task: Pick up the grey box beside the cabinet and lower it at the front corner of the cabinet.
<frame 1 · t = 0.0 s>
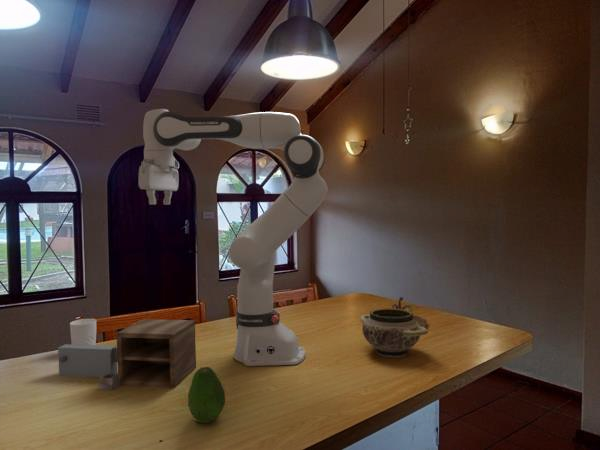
hand: (160, 204, 139), 48 cm above the table, tool pointing down, fingers open, 8 cm apart
avocado: (207, 422, 94), on the table
cabinet: (159, 375, 121), on the table
white cup: (84, 352, 143), on the table
plant: (400, 327, 167), on the table
ceramic bowl: (391, 353, 136), on the table
grey box: (88, 374, 123), on the table
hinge: (144, 348, 146), on the table
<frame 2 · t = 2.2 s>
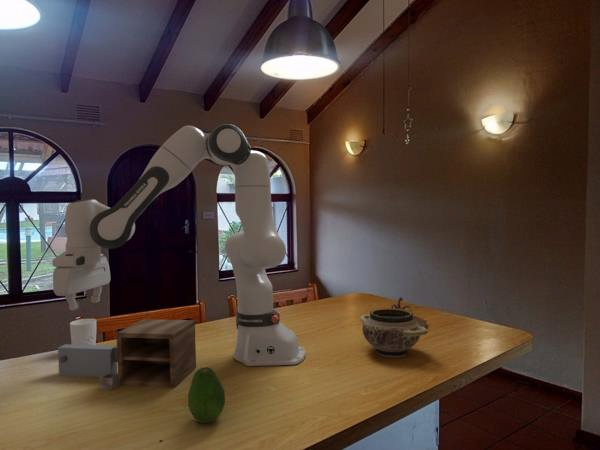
hand: (85, 305, 122), 20 cm above the table, tool pointing down, fingers open, 8 cm apart
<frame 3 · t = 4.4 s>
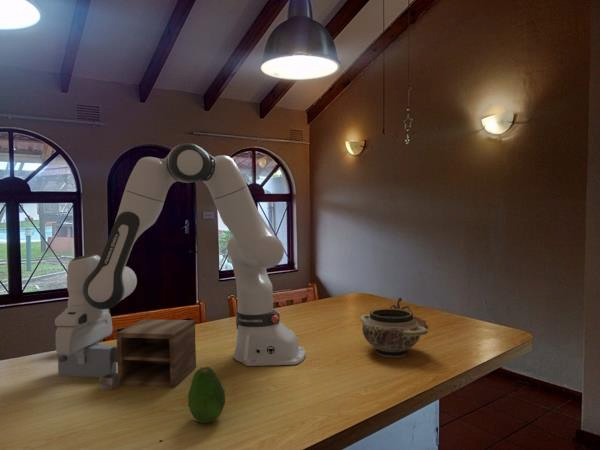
hand: (87, 360, 123), 4 cm above the table, tool pointing down, fingers closed on grey box, 3 cm apart
grey box: (87, 374, 123), on the table, touching gripper
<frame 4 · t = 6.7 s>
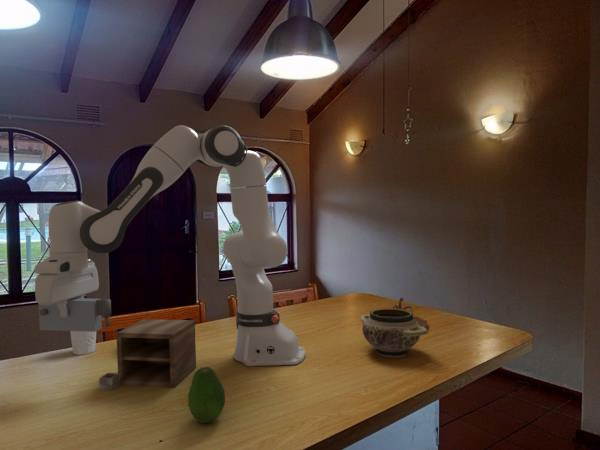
hand: (71, 314, 115), 19 cm above the table, tool pointing down, fingers closed on grey box, 3 cm apart
grey box: (70, 329, 115), point 15 cm above the table, touching gripper
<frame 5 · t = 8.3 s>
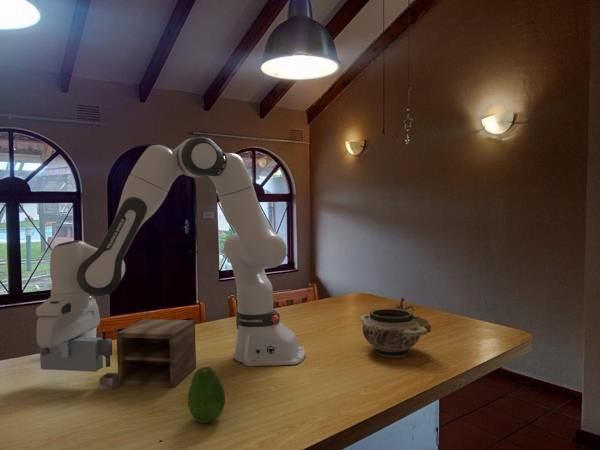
hand: (72, 353, 115), 9 cm above the table, tool pointing down, fingers closed on grey box, 3 cm apart
grey box: (71, 368, 115), point 5 cm above the table, touching gripper
when the fingers open (5 cm above the table, at t = 9.2 s): grey box drops 1 cm, on the table.
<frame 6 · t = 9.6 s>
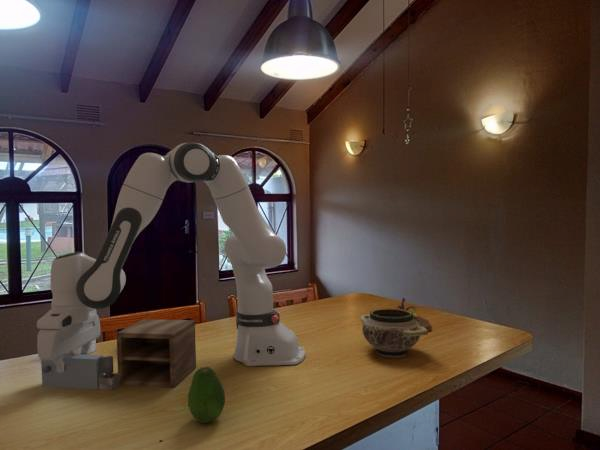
hand: (73, 365, 115), 5 cm above the table, tool pointing down, fingers open, 7 cm apart
grey box: (73, 385, 115), on the table
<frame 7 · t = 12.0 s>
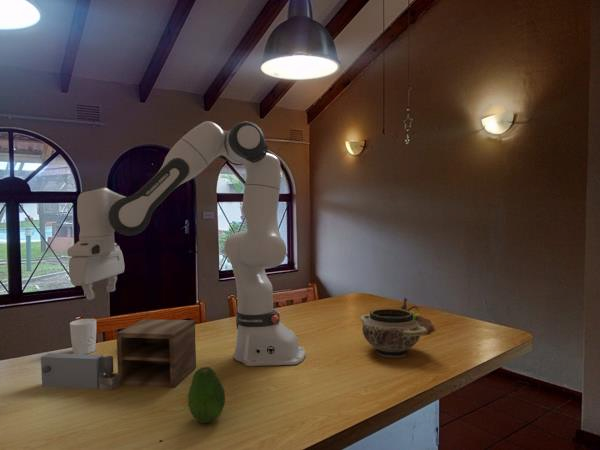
hand: (101, 295, 121), 23 cm above the table, tool pointing down, fingers open, 8 cm apart
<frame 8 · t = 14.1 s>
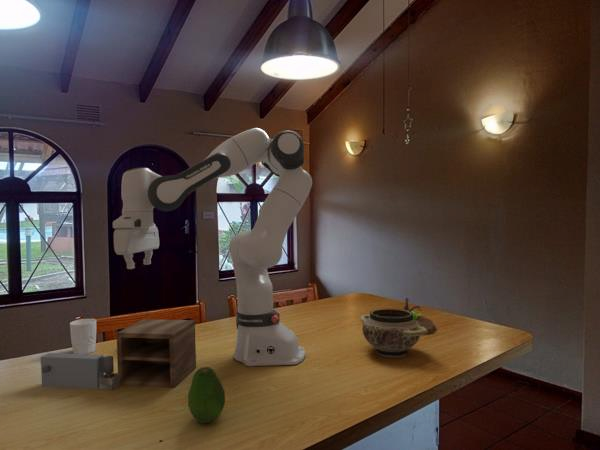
hand: (139, 266, 132), 29 cm above the table, tool pointing down, fingers open, 8 cm apart
at the end: grey box 0.4 cm from the target spot, on the table; grey box tilted 0°; the gripper is holding nothing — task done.
